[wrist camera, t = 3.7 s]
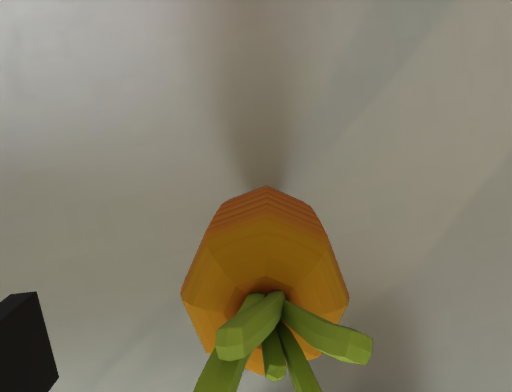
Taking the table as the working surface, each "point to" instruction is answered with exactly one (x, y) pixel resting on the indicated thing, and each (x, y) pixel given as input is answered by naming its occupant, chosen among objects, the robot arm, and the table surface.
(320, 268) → the carrot
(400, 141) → the table surface
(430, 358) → the table surface
